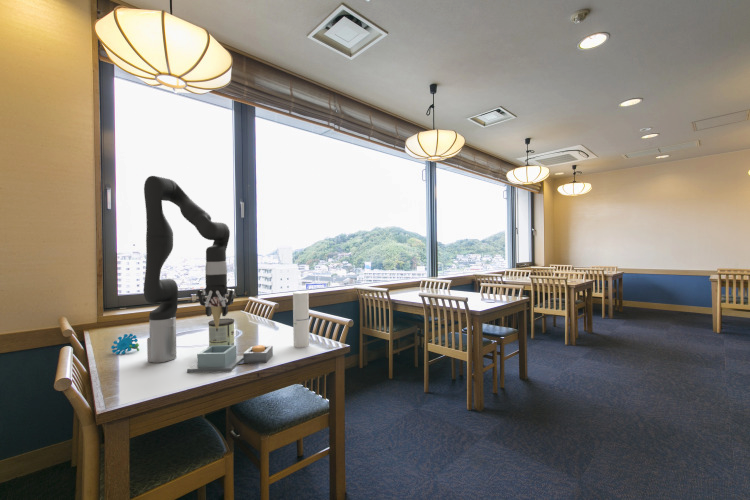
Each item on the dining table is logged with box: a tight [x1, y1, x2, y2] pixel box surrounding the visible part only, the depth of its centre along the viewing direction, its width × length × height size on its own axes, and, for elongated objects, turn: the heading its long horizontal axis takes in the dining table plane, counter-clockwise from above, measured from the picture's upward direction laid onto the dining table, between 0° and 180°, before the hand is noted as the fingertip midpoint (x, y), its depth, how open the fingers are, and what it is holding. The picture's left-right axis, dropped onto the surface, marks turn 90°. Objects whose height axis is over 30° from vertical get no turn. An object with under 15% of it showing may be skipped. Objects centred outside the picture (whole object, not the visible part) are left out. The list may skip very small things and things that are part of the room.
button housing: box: [242, 345, 274, 364], centre depth 133 cm, size 9×9×4 cm
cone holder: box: [186, 344, 244, 373], centre depth 127 cm, size 16×14×6 cm
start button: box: [252, 344, 266, 352], centre depth 133 cm, size 5×5×3 cm
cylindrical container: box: [292, 290, 310, 349], centre depth 151 cm, size 7×7×25 cm
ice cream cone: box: [208, 297, 223, 331], centre depth 126 cm, size 6×6×15 cm
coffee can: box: [207, 318, 235, 347], centre depth 141 cm, size 10×10×14 cm
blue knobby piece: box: [110, 333, 140, 356], centre depth 145 cm, size 11×6×10 cm
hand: (216, 315), depth 127 cm, fingers closed on ice cream cone, 5 cm apart
